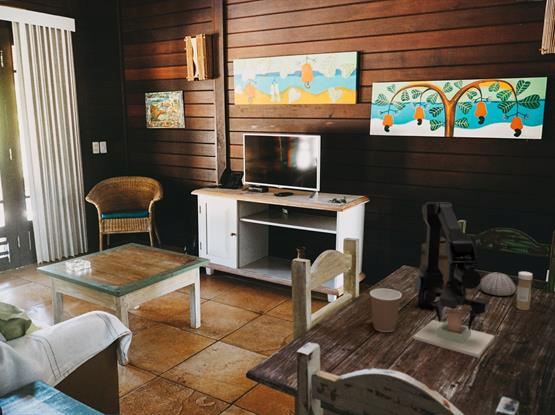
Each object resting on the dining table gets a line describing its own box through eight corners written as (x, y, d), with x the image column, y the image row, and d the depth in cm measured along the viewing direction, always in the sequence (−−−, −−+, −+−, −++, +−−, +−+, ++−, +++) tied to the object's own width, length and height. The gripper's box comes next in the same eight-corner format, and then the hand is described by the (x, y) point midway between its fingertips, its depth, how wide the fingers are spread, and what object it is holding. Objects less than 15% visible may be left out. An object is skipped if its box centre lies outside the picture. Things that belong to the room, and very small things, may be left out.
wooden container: (448, 282, 207) (451, 232, 203) (463, 295, 193) (467, 241, 189) (414, 283, 207) (416, 233, 203) (426, 296, 192) (429, 241, 188)
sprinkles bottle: (532, 308, 179) (535, 273, 176) (525, 311, 176) (528, 275, 174) (520, 304, 182) (523, 270, 180) (513, 307, 180) (516, 272, 177)
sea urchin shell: (472, 288, 200) (473, 269, 199) (500, 285, 204) (501, 267, 202) (493, 299, 188) (495, 280, 186) (523, 296, 191) (525, 277, 190)
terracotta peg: (445, 336, 154) (446, 312, 153) (449, 331, 157) (451, 308, 156) (458, 339, 152) (459, 315, 150) (462, 335, 155) (463, 311, 153)
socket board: (413, 338, 155) (413, 328, 154) (432, 322, 167) (433, 312, 166) (478, 357, 142) (479, 346, 142) (494, 338, 154) (494, 328, 154)
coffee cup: (403, 324, 165) (404, 290, 163) (396, 336, 156) (398, 301, 154) (373, 319, 170) (374, 286, 167) (365, 331, 160) (366, 296, 158)
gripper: (418, 278, 151) (415, 326, 153) (480, 291, 139) (477, 342, 142) (432, 269, 159) (429, 315, 162) (492, 281, 148) (488, 329, 150)
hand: (454, 325), depth 154 cm, fingers open, 9 cm apart
